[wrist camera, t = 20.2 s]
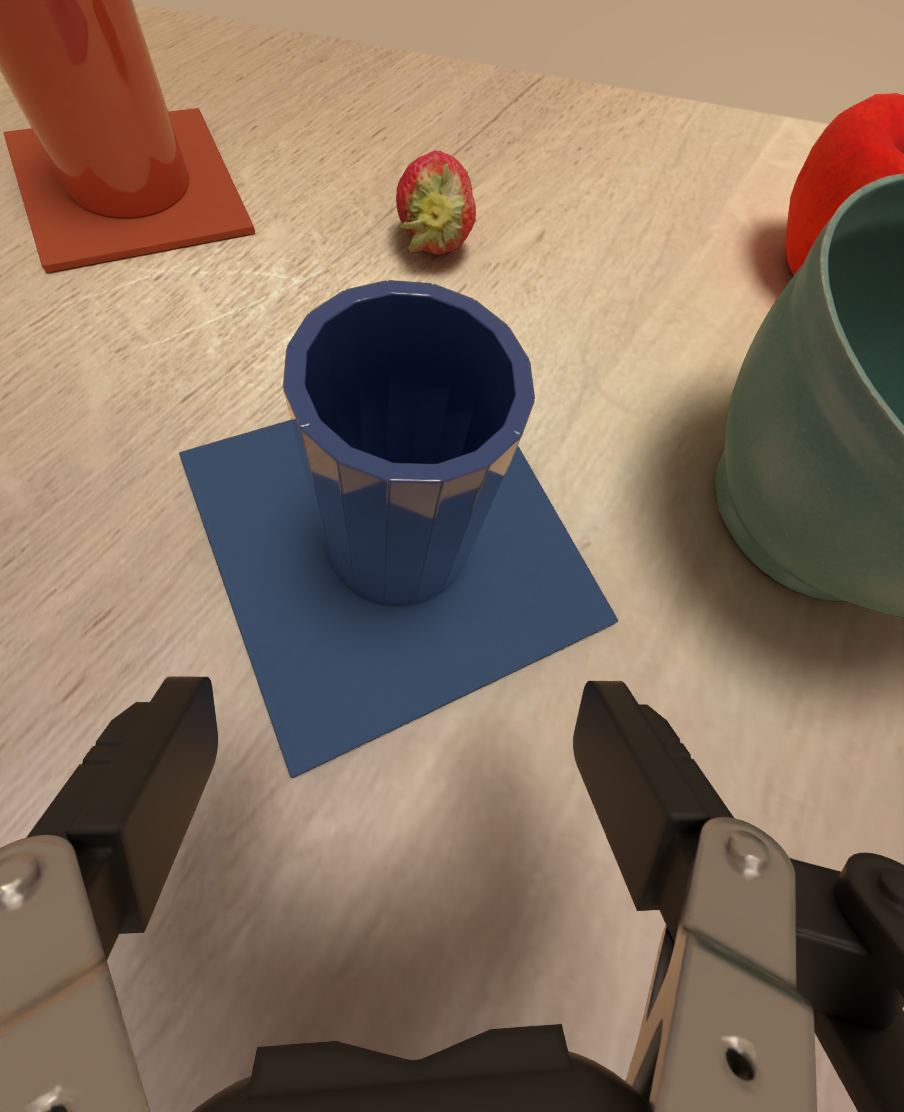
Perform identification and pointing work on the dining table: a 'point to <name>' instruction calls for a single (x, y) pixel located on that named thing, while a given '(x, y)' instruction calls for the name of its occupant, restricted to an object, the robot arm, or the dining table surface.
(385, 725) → the blue mat
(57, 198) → the red mat
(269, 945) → the dining table surface
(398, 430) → the blue cup
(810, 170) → the apple
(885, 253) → the flower pot
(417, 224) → the fruit
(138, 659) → the dining table surface
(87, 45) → the tall red cylinder
